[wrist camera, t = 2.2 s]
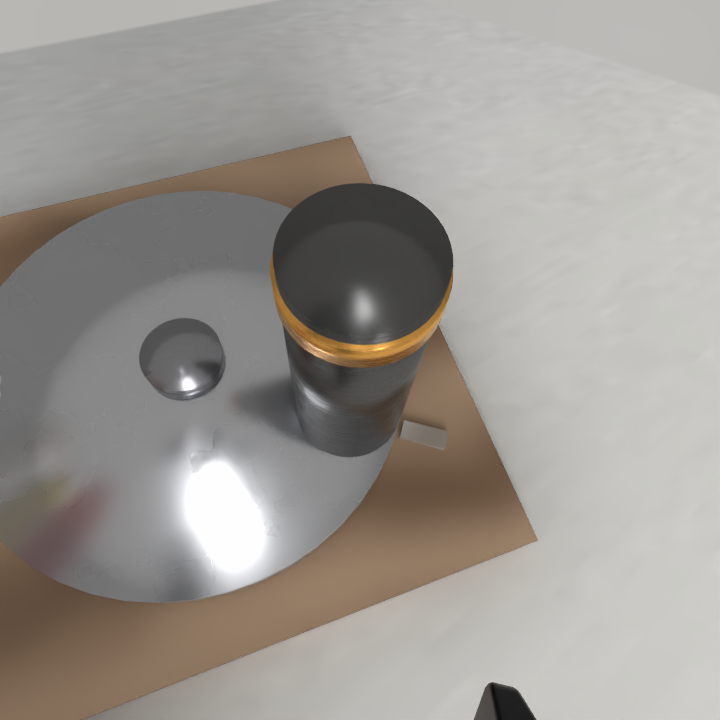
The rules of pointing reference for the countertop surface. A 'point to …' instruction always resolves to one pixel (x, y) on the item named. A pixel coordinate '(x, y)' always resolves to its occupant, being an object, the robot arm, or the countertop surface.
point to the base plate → (308, 577)
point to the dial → (209, 383)
